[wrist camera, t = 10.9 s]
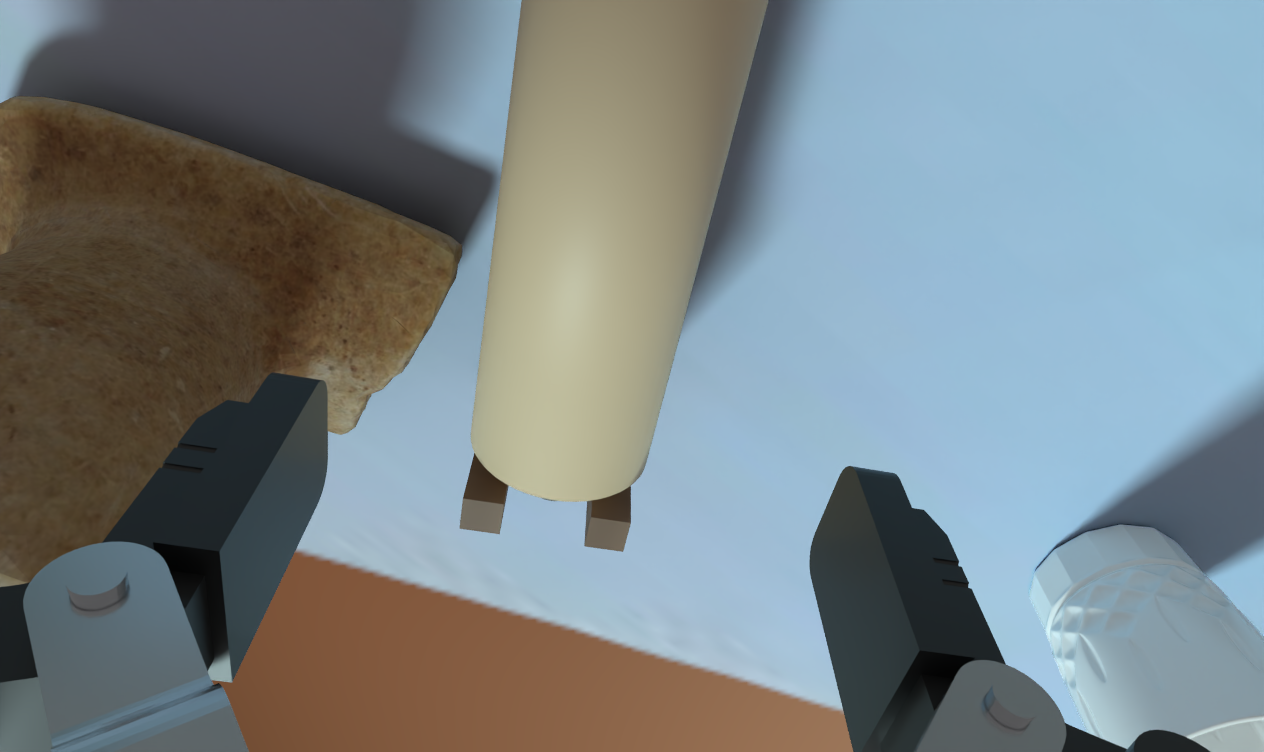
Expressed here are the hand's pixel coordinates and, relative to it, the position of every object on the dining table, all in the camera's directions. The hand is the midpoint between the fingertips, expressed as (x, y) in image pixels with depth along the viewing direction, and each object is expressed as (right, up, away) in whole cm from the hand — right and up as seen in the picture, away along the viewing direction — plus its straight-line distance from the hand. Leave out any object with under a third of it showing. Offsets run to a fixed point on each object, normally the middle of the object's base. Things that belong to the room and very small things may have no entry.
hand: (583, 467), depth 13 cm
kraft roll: (0, +7, +12) cm, 14 cm away
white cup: (+22, -8, +25) cm, 35 cm away
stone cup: (-14, +5, +17) cm, 23 cm away
